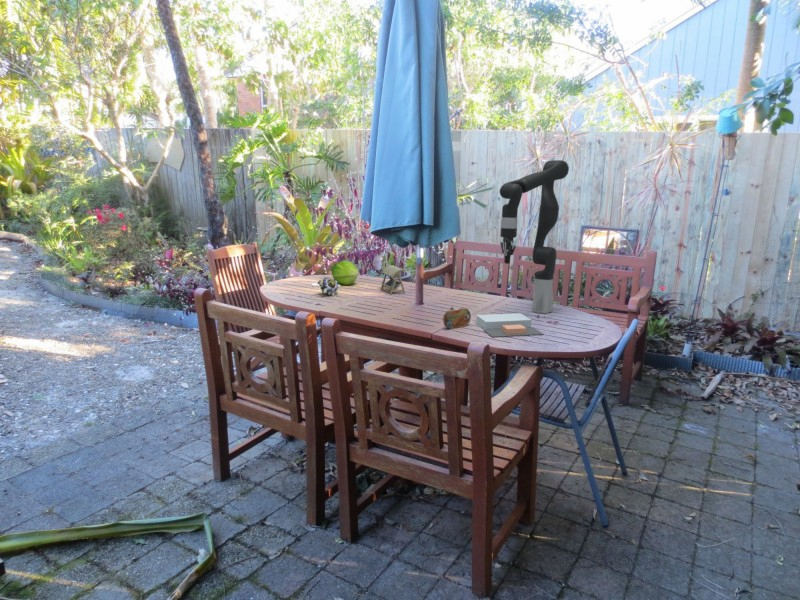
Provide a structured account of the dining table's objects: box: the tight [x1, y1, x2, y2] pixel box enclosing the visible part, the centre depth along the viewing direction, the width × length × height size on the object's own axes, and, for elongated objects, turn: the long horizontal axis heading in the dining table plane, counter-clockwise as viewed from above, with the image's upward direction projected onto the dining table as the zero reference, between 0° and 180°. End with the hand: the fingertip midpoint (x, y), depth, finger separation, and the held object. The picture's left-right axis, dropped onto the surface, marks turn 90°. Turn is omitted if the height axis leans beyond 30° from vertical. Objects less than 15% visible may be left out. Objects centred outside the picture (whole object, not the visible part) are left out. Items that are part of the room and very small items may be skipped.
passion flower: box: [317, 274, 341, 297], centre depth 306 cm, size 13×12×14 cm
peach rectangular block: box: [502, 324, 527, 335], centre depth 237 cm, size 9×6×2 cm, turn 102°
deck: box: [475, 312, 532, 331], centre depth 249 cm, size 22×12×4 cm, turn 102°
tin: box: [442, 307, 472, 330], centre depth 245 cm, size 15×3×8 cm, turn 126°
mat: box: [483, 327, 545, 339], centre depth 238 cm, size 24×10×1 cm, turn 102°
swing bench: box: [380, 264, 407, 296], centre depth 315 cm, size 15×10×15 cm, turn 27°
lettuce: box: [331, 260, 360, 286], centre depth 334 cm, size 15×23×16 cm
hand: (506, 263), depth 257 cm, fingers closed
